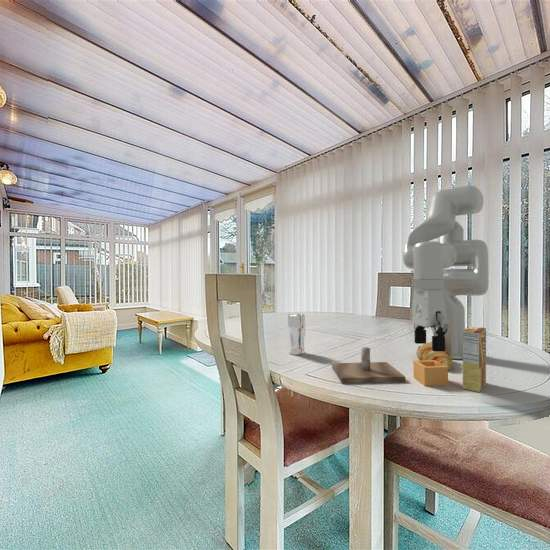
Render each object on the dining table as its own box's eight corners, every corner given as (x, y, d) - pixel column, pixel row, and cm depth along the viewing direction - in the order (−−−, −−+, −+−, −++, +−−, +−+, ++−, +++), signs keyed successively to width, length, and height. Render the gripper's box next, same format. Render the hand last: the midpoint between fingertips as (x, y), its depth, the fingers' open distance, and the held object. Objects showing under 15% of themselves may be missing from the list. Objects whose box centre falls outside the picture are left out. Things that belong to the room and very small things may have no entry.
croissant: (458, 383, 92) (471, 361, 91) (428, 368, 92) (441, 345, 92) (427, 361, 113) (437, 343, 113) (403, 349, 113) (413, 331, 113)
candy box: (469, 379, 85) (468, 326, 85) (487, 383, 82) (486, 327, 82) (462, 389, 79) (461, 330, 79) (481, 393, 76) (480, 332, 76)
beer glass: (305, 350, 120) (305, 313, 120) (306, 355, 114) (305, 316, 113) (288, 350, 121) (287, 313, 121) (287, 355, 114) (286, 316, 114)
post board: (386, 366, 98) (386, 342, 98) (405, 381, 84) (404, 353, 84) (332, 367, 98) (331, 343, 98) (341, 383, 84) (341, 355, 84)
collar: (435, 377, 88) (435, 360, 88) (448, 385, 81) (447, 367, 81) (413, 377, 88) (413, 360, 88) (424, 385, 81) (424, 367, 81)
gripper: (401, 285, 93) (402, 340, 93) (431, 286, 76) (432, 354, 75) (426, 285, 93) (426, 340, 93) (460, 286, 76) (461, 354, 75)
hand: (429, 347), depth 84 cm, fingers open, 9 cm apart
